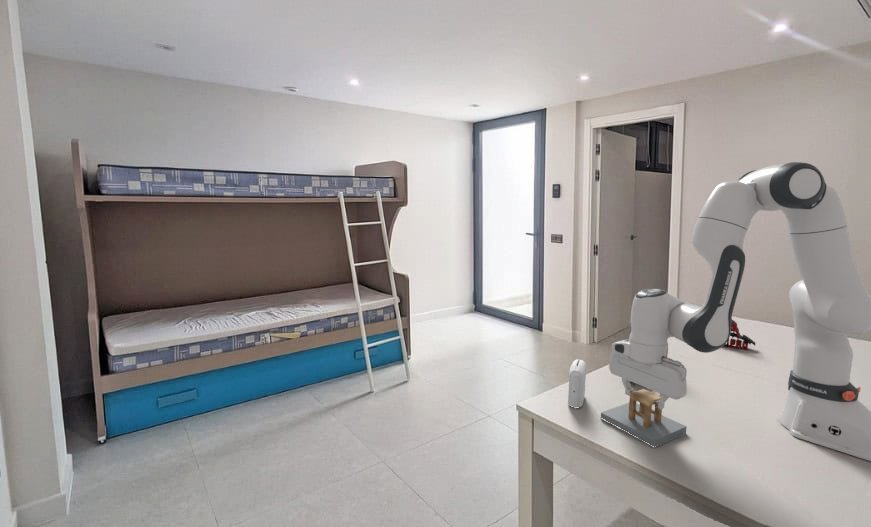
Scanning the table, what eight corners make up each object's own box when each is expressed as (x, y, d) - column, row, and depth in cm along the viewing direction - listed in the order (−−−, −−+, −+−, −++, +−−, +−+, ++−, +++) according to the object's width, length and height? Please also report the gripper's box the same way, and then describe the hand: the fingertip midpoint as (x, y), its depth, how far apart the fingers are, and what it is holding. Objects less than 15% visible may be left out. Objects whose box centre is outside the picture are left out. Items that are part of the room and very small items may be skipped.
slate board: (685, 433, 112) (686, 426, 112) (654, 447, 106) (654, 440, 105) (631, 407, 126) (631, 401, 126) (600, 419, 120) (601, 412, 119)
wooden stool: (661, 422, 114) (662, 397, 113) (647, 427, 111) (649, 402, 110) (641, 413, 119) (643, 388, 118) (628, 418, 116) (630, 393, 115)
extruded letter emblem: (701, 342, 182) (703, 316, 180) (702, 340, 185) (704, 315, 183) (754, 351, 171) (757, 324, 169) (754, 349, 174) (757, 322, 172)
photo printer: (582, 410, 125) (584, 369, 123) (566, 407, 127) (568, 366, 125) (585, 395, 134) (587, 357, 132) (571, 393, 136) (572, 355, 134)
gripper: (694, 361, 105) (690, 415, 107) (621, 338, 123) (619, 384, 125) (678, 366, 102) (674, 421, 104) (606, 342, 120) (604, 389, 122)
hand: (643, 401), depth 115 cm, fingers open, 7 cm apart
